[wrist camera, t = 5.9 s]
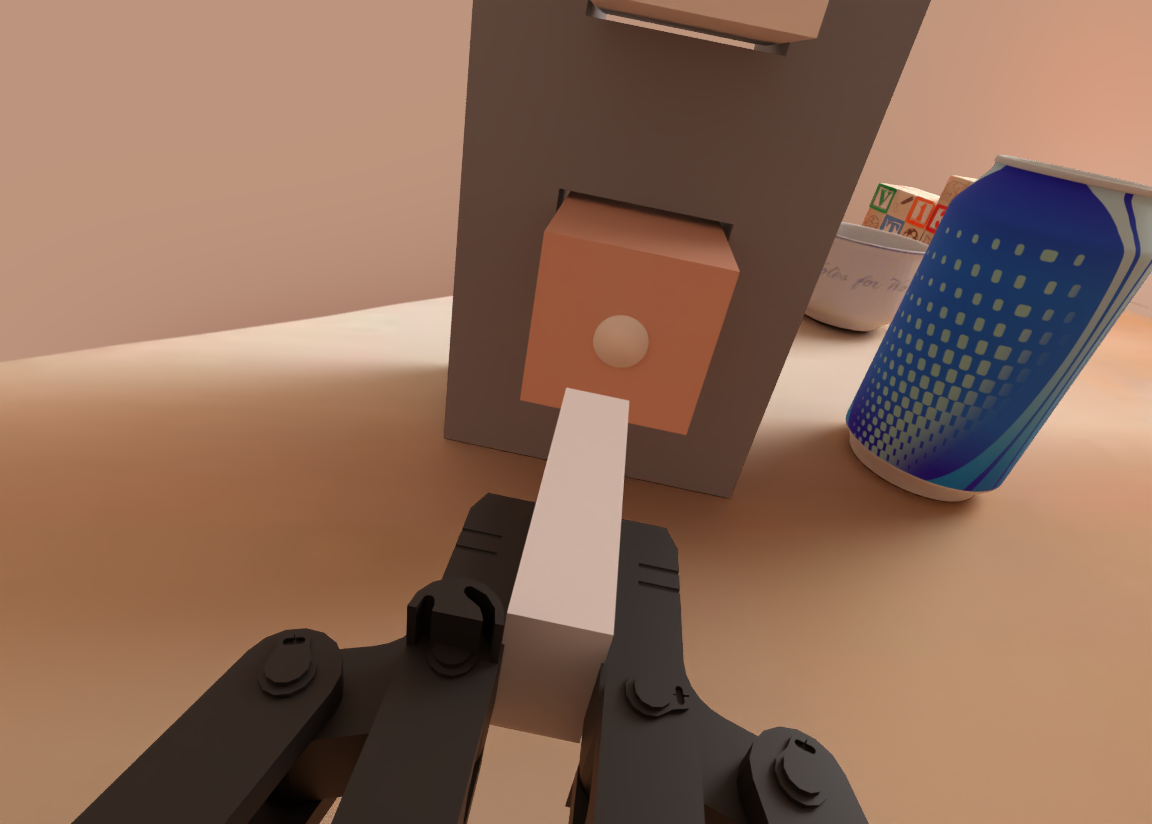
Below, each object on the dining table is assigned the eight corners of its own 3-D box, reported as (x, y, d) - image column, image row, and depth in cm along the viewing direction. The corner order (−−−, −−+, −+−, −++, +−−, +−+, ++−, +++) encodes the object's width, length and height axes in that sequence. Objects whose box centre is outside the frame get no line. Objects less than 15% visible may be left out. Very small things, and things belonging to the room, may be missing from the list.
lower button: (686, 437, 21) (740, 273, 18) (519, 402, 21) (543, 232, 18) (678, 342, 28) (716, 213, 25) (553, 316, 28) (575, 184, 25)
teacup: (781, 325, 50) (818, 231, 46) (770, 286, 59) (799, 205, 55) (948, 364, 49) (1000, 272, 45) (910, 318, 58) (950, 238, 54)
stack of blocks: (847, 254, 78) (889, 156, 72) (882, 257, 80) (925, 162, 74) (986, 324, 62) (1056, 204, 55) (1025, 325, 64) (1096, 210, 58)
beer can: (807, 431, 35) (938, 142, 27) (893, 414, 39) (1032, 158, 31) (932, 526, 29) (1151, 192, 21) (1019, 495, 33) (1233, 204, 25)
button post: (730, 498, 28) (1076, -360, 14) (443, 437, 28) (504, -472, 14) (715, 413, 35) (938, -222, 21) (484, 364, 35) (553, -299, 21)
